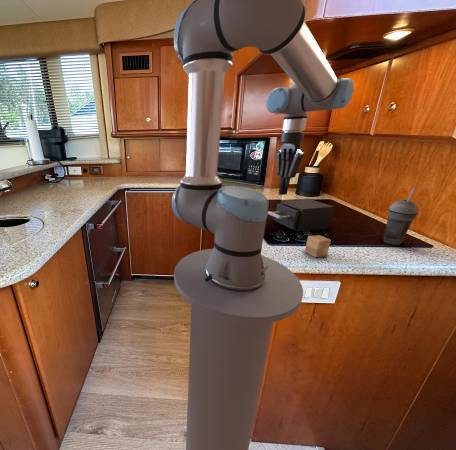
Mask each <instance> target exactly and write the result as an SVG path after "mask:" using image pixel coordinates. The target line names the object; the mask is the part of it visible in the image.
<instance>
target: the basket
mask: <svg viewBox="0 0 456 450" xmlns="http://www.w3.org/2000/svg"><path fill="white" fill-rule="evenodd" d="M267 213H268V215H269V216H271V217H274V219H273V220H274V222H276V223H278V224H280V225H283V226H285V227H287V228H288V229H291V230H292V231H293V230H294V229H295V228H298V223H299V218H300V213H301V210H298V209H296V208H293V207H290V206H287V205H285V204H283V205H281V203H277V204H276V207H275V211H270V210H268V211H267ZM294 231H295V230H294Z"/></svg>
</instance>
